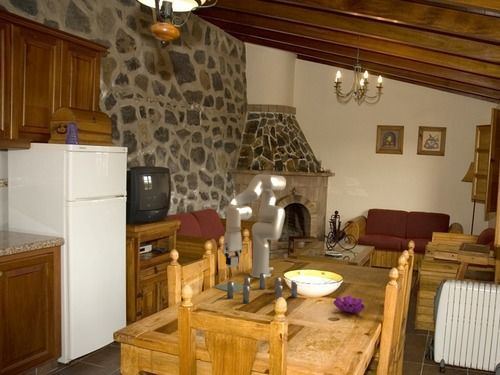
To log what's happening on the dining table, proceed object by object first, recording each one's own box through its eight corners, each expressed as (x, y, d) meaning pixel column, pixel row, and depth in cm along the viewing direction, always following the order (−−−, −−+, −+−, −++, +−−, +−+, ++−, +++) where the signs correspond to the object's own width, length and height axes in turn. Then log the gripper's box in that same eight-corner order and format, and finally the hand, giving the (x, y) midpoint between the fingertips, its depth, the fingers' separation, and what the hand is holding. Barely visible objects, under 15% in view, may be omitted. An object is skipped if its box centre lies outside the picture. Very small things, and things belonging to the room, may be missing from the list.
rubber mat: (231, 282, 257) (232, 282, 257) (250, 287, 248) (250, 287, 247) (213, 287, 247) (213, 286, 247) (232, 292, 237) (232, 292, 237)
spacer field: (261, 287, 248) (262, 272, 248) (298, 297, 232) (298, 281, 232) (225, 297, 228) (226, 281, 228) (262, 309, 212) (263, 292, 212)
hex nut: (224, 265, 246) (224, 256, 246) (231, 264, 250) (231, 254, 250) (232, 267, 242) (233, 258, 242) (240, 266, 246) (240, 256, 246)
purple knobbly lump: (344, 323, 205) (332, 305, 206) (345, 312, 220) (334, 295, 221) (366, 310, 203) (353, 292, 204) (365, 300, 218) (353, 283, 218)
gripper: (239, 227, 254) (238, 260, 255) (216, 230, 241) (215, 264, 242) (249, 229, 249) (248, 262, 250) (226, 232, 236) (225, 267, 237)
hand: (232, 263), depth 246 cm, fingers closed on hex nut, 5 cm apart
